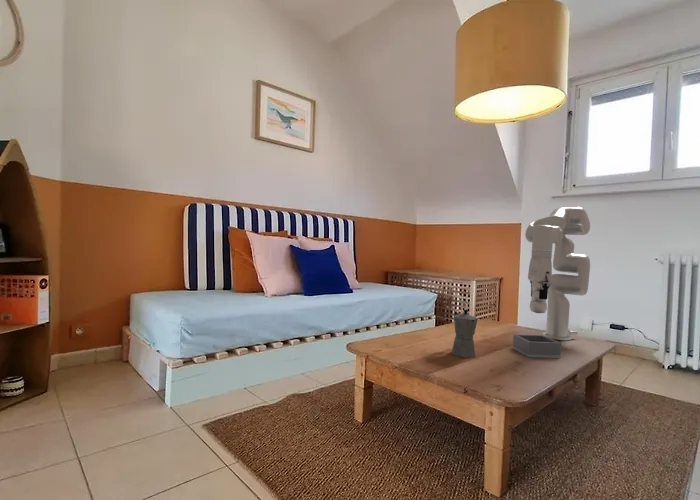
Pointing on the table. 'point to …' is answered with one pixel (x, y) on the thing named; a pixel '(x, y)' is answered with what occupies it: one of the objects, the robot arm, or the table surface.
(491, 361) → the table surface
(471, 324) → the coffeepot
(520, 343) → the grey open box
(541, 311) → the plastic bottle
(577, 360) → the table surface
